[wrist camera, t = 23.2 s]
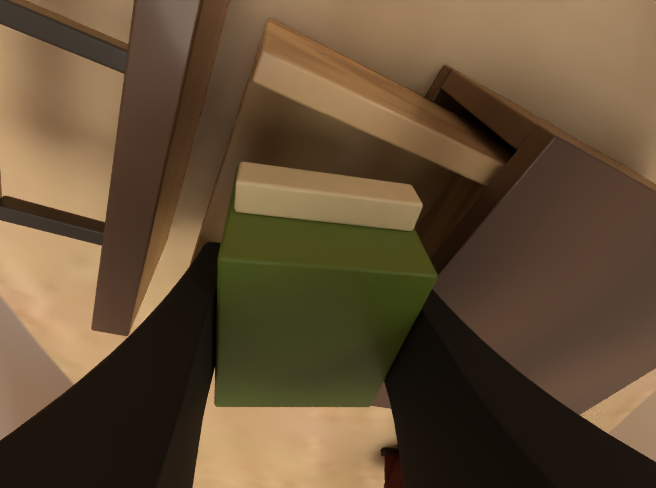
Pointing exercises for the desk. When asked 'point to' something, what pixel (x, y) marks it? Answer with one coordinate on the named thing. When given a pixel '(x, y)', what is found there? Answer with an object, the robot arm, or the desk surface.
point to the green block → (315, 287)
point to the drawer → (245, 136)
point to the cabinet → (552, 256)
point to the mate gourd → (392, 468)
